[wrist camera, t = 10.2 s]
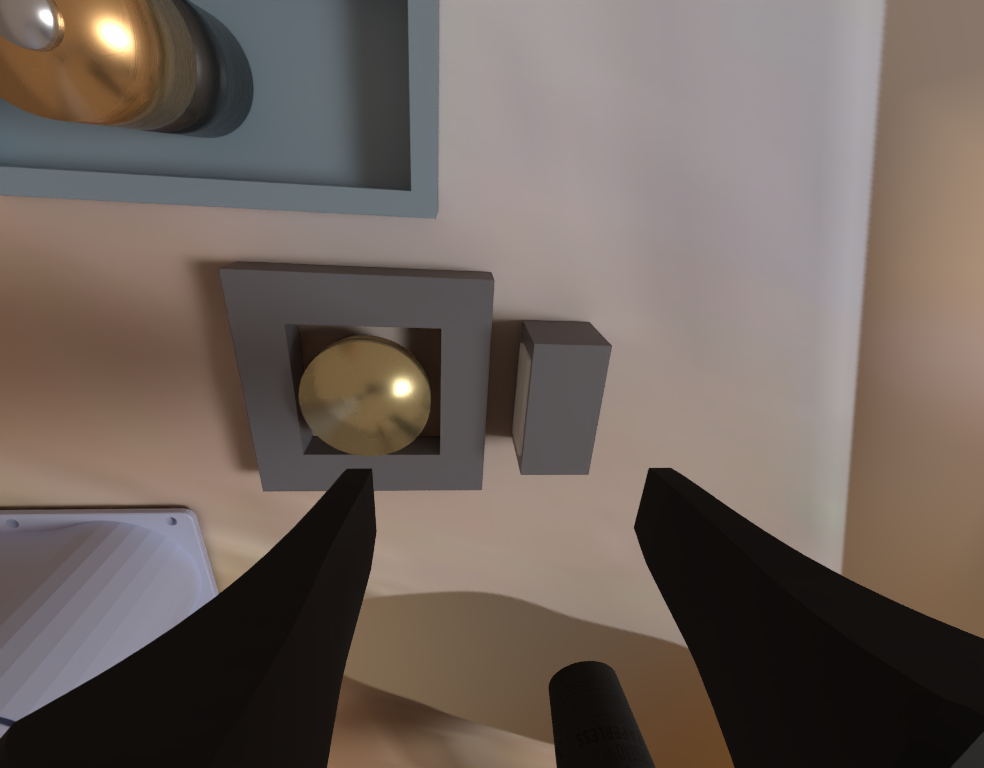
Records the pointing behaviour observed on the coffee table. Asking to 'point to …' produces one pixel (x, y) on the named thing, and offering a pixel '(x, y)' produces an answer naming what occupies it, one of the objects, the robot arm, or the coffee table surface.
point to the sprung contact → (365, 396)
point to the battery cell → (124, 65)
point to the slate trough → (271, 122)
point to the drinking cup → (594, 720)
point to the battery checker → (464, 374)
